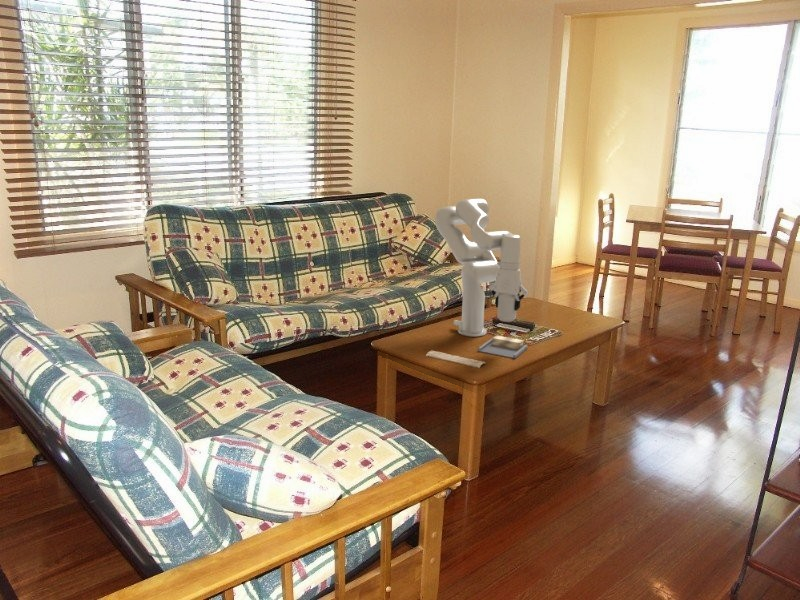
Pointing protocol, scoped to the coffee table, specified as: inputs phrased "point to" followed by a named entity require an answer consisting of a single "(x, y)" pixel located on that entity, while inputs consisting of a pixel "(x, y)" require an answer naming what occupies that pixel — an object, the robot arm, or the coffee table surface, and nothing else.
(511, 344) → the ledge
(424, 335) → the coffee table surface
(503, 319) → the can
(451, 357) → the newspaper
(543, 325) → the coffee table surface
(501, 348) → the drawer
